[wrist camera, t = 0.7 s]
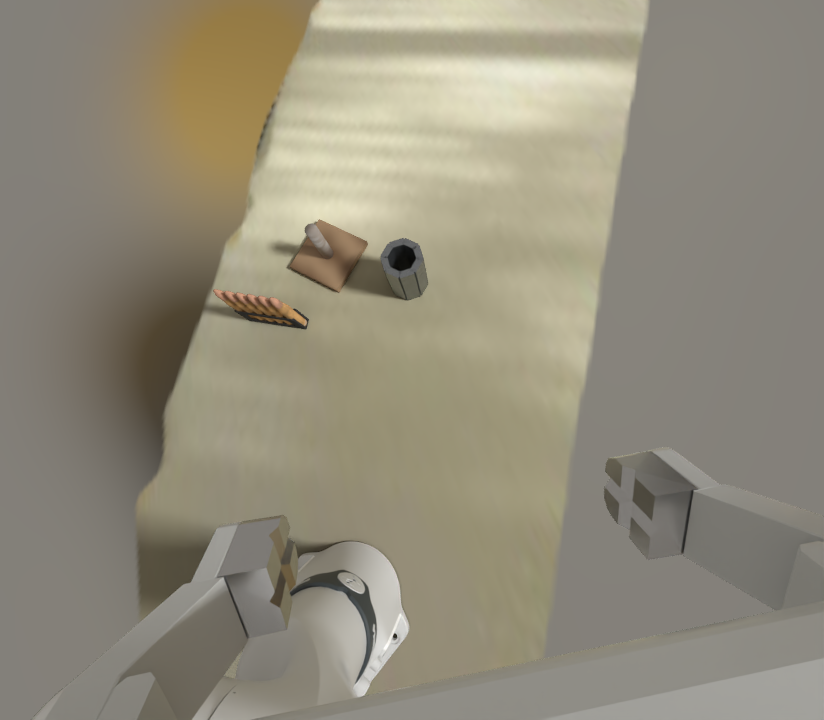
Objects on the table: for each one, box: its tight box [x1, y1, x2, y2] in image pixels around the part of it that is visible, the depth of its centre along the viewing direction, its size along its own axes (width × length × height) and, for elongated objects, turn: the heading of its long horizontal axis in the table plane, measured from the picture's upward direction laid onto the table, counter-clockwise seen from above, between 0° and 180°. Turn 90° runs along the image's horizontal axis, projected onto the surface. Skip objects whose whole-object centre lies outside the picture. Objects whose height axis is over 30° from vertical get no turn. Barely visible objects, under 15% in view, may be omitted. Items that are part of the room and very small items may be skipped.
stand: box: [290, 219, 368, 292], centre depth 65 cm, size 10×10×9 cm
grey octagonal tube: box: [381, 238, 428, 300], centre depth 62 cm, size 6×6×9 cm
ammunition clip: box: [213, 289, 309, 329], centre depth 62 cm, size 11×2×12 cm, turn 79°
